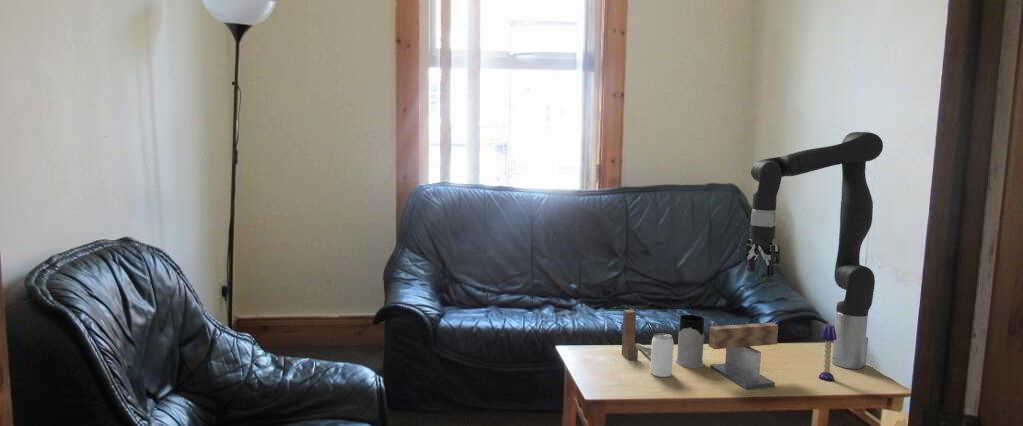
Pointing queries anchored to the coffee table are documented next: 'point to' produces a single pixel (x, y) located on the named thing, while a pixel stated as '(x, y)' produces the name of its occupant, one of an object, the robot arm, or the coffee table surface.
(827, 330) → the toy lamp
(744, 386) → the ridge stand
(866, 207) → the robot arm
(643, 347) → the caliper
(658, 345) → the can
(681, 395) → the coffee table surface
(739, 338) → the brown wooden plank
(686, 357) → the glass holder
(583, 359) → the coffee table surface
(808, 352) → the coffee table surface
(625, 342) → the wooden block
